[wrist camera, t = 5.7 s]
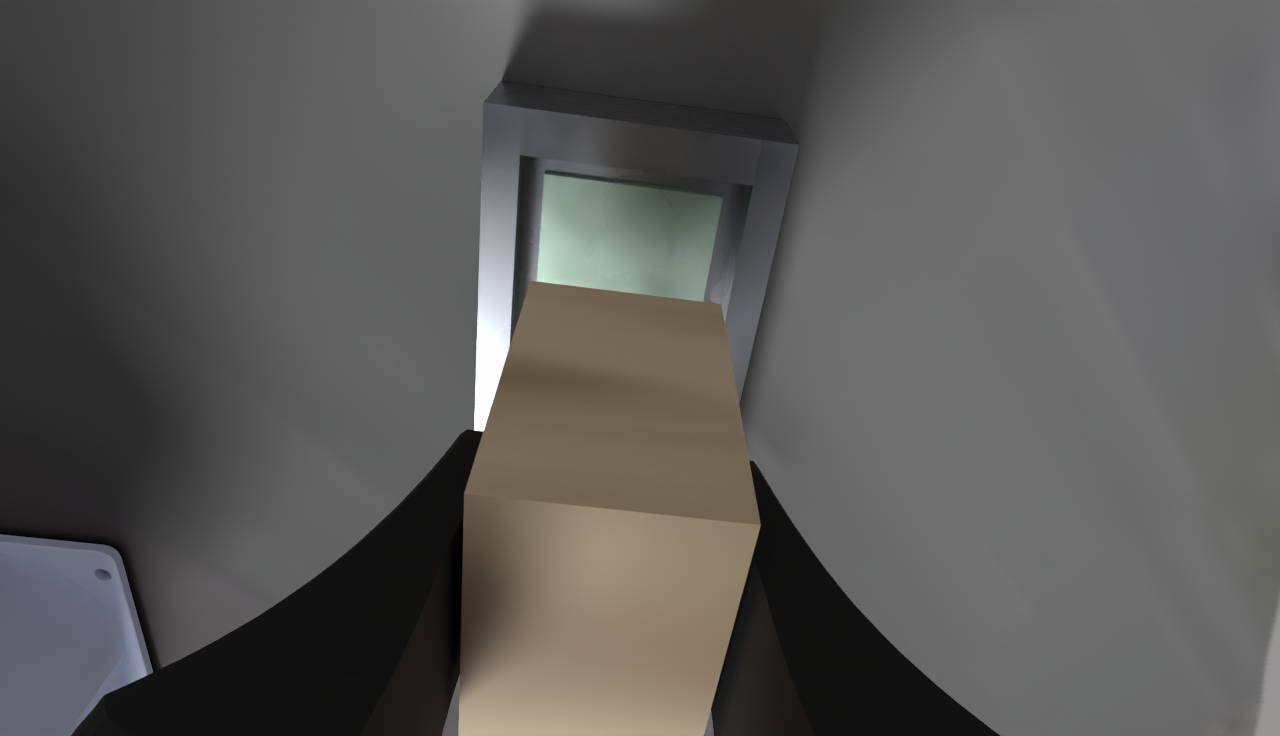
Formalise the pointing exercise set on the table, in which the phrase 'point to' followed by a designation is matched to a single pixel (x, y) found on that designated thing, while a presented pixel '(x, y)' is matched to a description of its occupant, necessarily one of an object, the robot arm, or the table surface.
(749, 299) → the grey rectangular tray
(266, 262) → the table surface
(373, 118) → the table surface
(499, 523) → the tan wooden block
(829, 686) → the robot arm
